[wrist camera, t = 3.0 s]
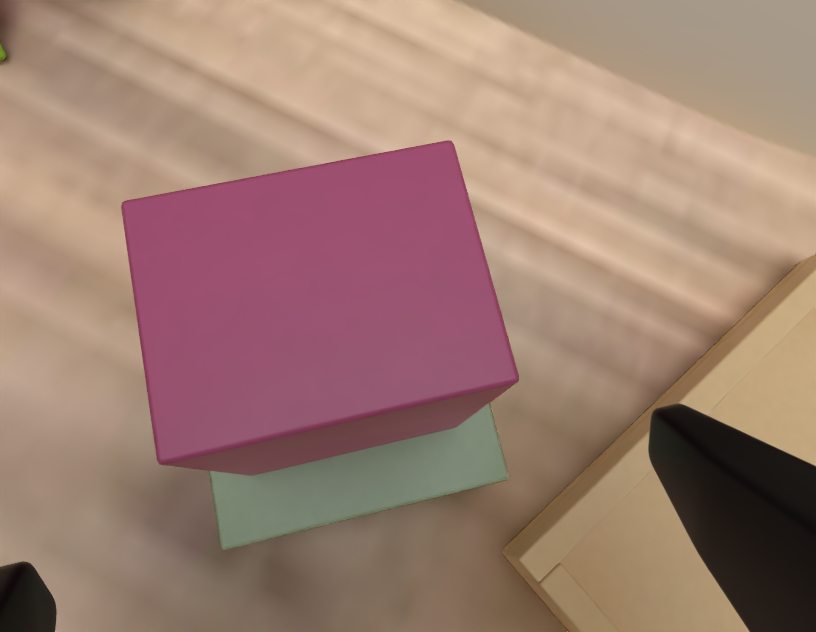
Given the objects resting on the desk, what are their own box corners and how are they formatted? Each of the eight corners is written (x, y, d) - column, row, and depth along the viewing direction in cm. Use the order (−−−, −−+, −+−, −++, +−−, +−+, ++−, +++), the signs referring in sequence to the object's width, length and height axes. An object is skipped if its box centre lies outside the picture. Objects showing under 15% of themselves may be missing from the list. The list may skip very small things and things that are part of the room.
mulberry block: (459, 427, 16) (521, 381, 10) (248, 477, 16) (156, 466, 9) (421, 276, 17) (453, 137, 10) (221, 317, 17) (118, 199, 10)
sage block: (483, 481, 20) (510, 479, 16) (251, 539, 19) (220, 550, 15) (428, 265, 22) (440, 216, 18) (212, 310, 21) (176, 269, 17)
